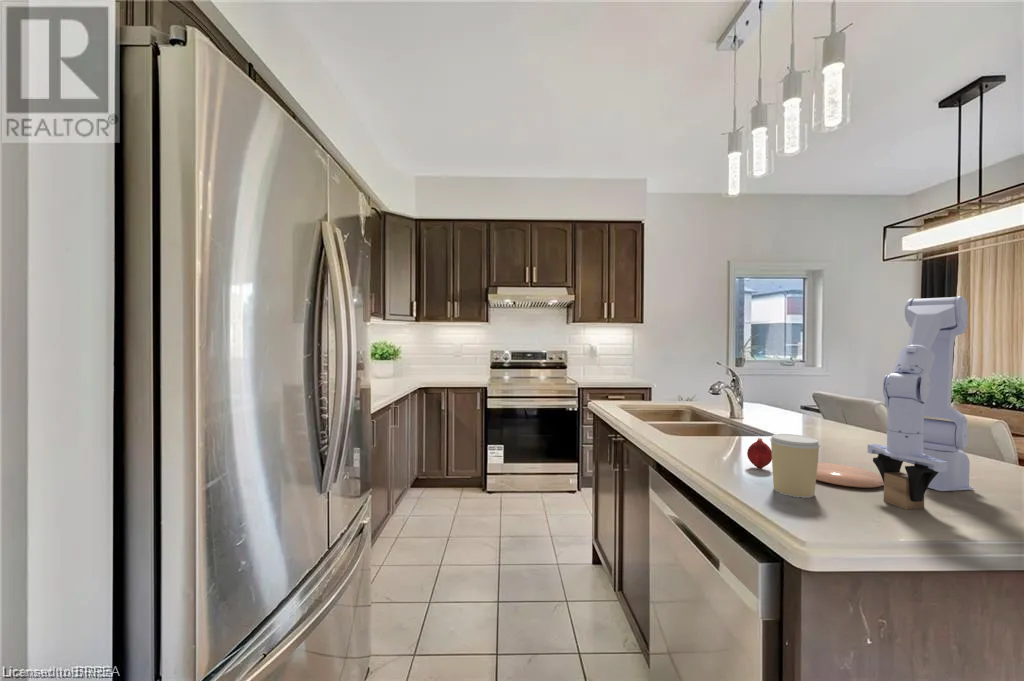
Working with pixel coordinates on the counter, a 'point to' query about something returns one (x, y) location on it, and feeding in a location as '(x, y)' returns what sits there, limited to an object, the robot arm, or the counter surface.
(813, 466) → the coffee cup
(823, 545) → the counter surface
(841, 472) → the dish
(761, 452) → the onion
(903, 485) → the block
